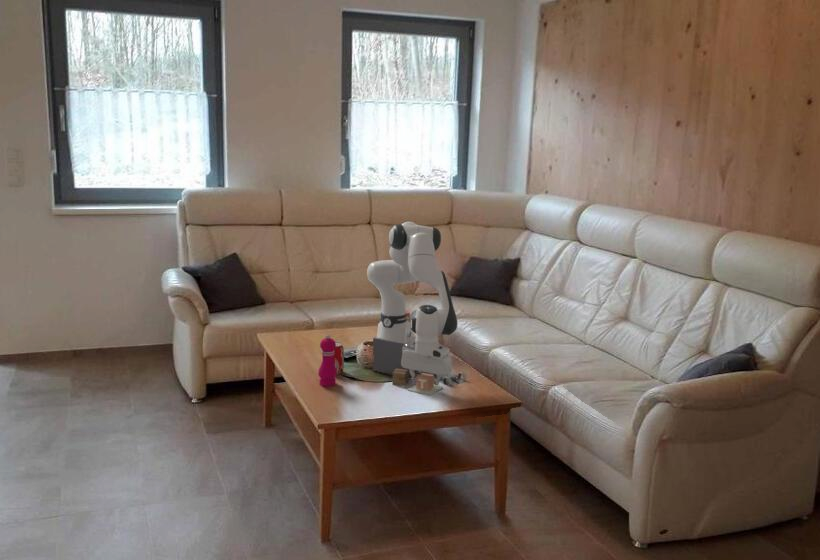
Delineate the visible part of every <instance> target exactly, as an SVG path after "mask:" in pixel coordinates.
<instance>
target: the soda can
mask: <svg viewBox="0 0 820 560" xmlns="http://www.w3.org/2000/svg"><path fill="white" fill-rule="evenodd" d="M335 343H336V347H335V349H334V355H333V362H334V365H335V367H336V370H337V375H340V374H342V373H343V372H344V369H345V368H344V367H345V365H344V364H345V363H344V362H345V360H344V359H345V354H344V353H345V350H344V349H345V347H344V346H343V343H342V342H338V341H335Z"/></svg>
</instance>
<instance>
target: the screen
mask: <svg viewBox="0 0 820 560" xmlns="http://www.w3.org/2000/svg"><path fill="white" fill-rule="evenodd" d="M376 337H377V336H375V337H373V338H372V339H373V340H372V356H373V355H374V363H373V362H372V369H371V370H373V372H375V371H377V373H380V372H381V373H382V374H385V373H386V375H390V376H393V371H394V370H395V369H405V370H408V379H411V380H412V376H411V374H410V372H409V369H407V368H403V367H402V366H401V359H402V354H403V353H402V348H403V346H405V345H413V346H415V343H413V344H410V343H404V342H399V341H393V340H387V339H382V338H376ZM405 347H406V346H405ZM414 373H415V375H417V376H418V375H420V374H418V371H417V370H415V371H414Z"/></svg>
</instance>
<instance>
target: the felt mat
mask: <svg viewBox="0 0 820 560" xmlns="http://www.w3.org/2000/svg"><path fill="white" fill-rule="evenodd" d="M441 389H443V386H441V385H434V387H433V388H432V389H431V390H429V391H424V390H420V389H416V384H414V385H412V386H411V387H409V388H408V389H407V391H408V392H413V393H418V394H423V395H426V396H433V395H434V394H435V393H437V392H438V391H440V390H441Z"/></svg>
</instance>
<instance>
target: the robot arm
mask: <svg viewBox="0 0 820 560" xmlns="http://www.w3.org/2000/svg"><path fill="white" fill-rule="evenodd" d="M441 234H442V233H441V231H440V230H439V229H438V228H437V227H434V226H426V225H420V224H417V223H415V222H414V221H405V222H403V223H399V224H393V226H392V227H391V228H390V230H389V234H388V242H389V245H390V248H389V250H388V251H389V257H390V258H391V259H386V260H385V259H382V260H377V261H373V262H370V264H369V265H368V267H367V269H366V275H367V279H368V281H369V282H370V283H371V284H372V285H374V286H375V287H376V288H377V290H378V292H379V294H380V300H381V312H380V316H379V319H380V321H379V322H378V325H377V332H376V333H377V334H376V336H375V337H376V338H382V339H387V340H393V341H399V342H404V343H410V344H415V346H413V345H405V346H406V347H405V346H403V348H402V353H403V354H402V359H401V366H402V367H403V368H407V369H409V372H410V374H411V376H412V379H411V381H415V382H417V375H415V373H414V371H415V370H417V371H422V372H427V373H432V374H437V377H438V378H437V379H436V380H434V385H437V386H440V382H439V380H440V379H441V377H442V376H447V375H449V374H450V373H451V372H452V359H451V356H450V354H451V350H450V347H449V348H448V347H447V346H445V345H443V344H441V343H440V342H439V336H438V335H444V336H445V335H446V336H450V335H452V334H453V333H454V332H456V330H458V329H457V328H458V317H457V314H456V311H455V308H454V304H453V299H452V296H451V291H450V286H449V284H448V283H449V282H448V279H447V276H446V274H445V272H444V271H443V270H441V269H440V268H439V266H438V264H437V261H436V259H437V258H436V251H437V250H439V248H440V246H441V242H442V235H441ZM418 281H419V282H421V283H423V284H427V285H429V286H431V287H433V288H434V289H436V290H437V292H438V295H439V300H440V304H441V309H438V308H437V307H436V306H435V305H431V304H423V305H421V306H418V308H417V309H414V311H412V312H411V313H410V312H409V311H408V312H407V311H406V310H407V302H406V301H407V298H406V296H405V294H404V293H402V292H401V291H399V290H397V289H396V288H395V285H399V284H400V285H402V284H411V283H415V282H418ZM408 317H410V321H409V320H408Z"/></svg>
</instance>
